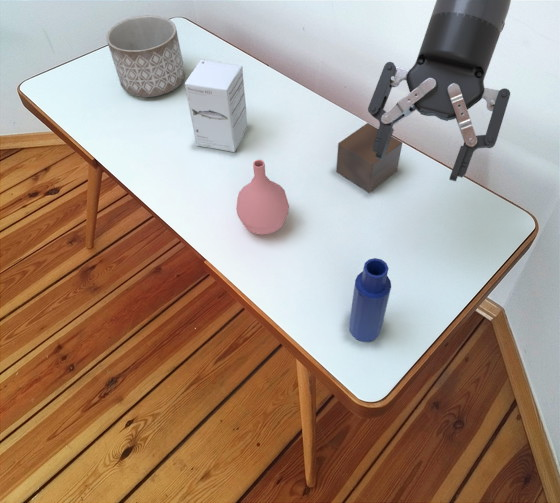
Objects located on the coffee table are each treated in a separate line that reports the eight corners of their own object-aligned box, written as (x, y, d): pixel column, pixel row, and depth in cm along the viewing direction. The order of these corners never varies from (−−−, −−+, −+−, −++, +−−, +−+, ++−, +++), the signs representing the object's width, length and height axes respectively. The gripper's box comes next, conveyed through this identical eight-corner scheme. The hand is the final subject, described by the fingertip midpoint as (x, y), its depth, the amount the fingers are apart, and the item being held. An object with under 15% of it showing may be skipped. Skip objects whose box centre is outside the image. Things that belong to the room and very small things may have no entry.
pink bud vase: (248, 249, 75) (240, 190, 65) (231, 214, 79) (222, 153, 70) (297, 233, 76) (296, 173, 67) (278, 199, 81) (275, 138, 71)
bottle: (387, 328, 66) (402, 268, 56) (366, 348, 64) (378, 289, 54) (363, 309, 68) (374, 247, 58) (342, 327, 66) (349, 267, 56)
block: (397, 171, 84) (402, 142, 79) (369, 193, 81) (373, 164, 76) (364, 151, 87) (367, 122, 82) (336, 172, 84) (338, 143, 80)
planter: (187, 62, 106) (178, 13, 98) (184, 99, 98) (173, 48, 90) (126, 66, 106) (111, 17, 98) (118, 103, 98) (101, 53, 90)
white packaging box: (195, 147, 89) (182, 83, 79) (211, 121, 94) (200, 57, 84) (235, 154, 88) (226, 89, 78) (249, 127, 92) (243, 63, 82)
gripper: (397, -3, 54) (349, 148, 57) (539, 24, 50) (479, 186, 53) (405, 23, 61) (362, 155, 64) (530, 48, 57) (478, 189, 60)
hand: (415, 169), depth 58 cm, fingers open, 8 cm apart
